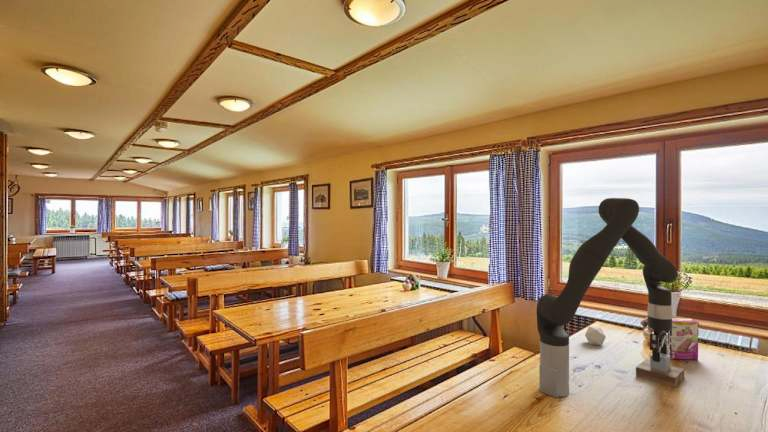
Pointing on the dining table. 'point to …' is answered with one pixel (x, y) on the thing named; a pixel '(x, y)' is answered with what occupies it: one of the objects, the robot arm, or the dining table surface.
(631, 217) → the robot arm
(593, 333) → the die
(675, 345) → the candy bar box
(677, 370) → the walnut block
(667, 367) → the slate cube
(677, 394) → the dining table surface
